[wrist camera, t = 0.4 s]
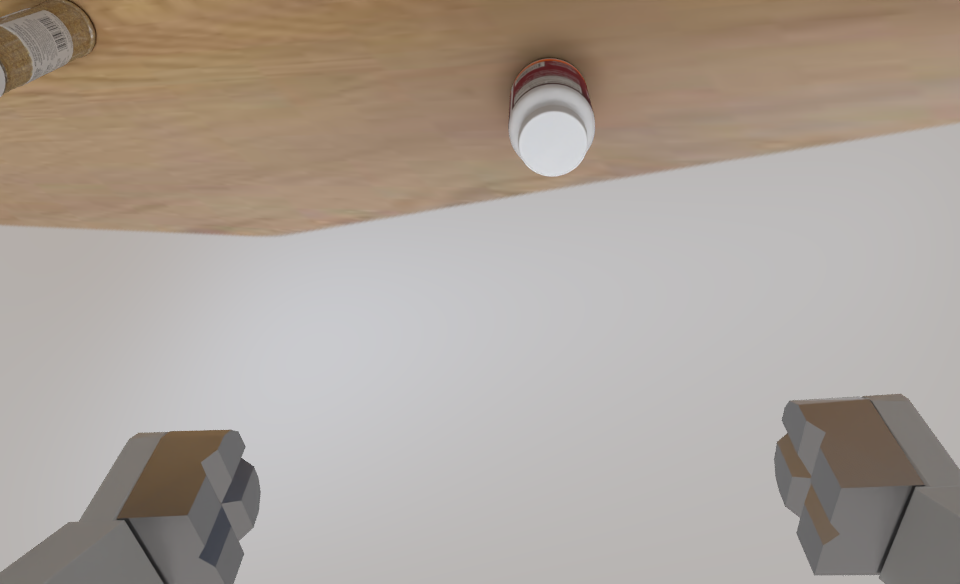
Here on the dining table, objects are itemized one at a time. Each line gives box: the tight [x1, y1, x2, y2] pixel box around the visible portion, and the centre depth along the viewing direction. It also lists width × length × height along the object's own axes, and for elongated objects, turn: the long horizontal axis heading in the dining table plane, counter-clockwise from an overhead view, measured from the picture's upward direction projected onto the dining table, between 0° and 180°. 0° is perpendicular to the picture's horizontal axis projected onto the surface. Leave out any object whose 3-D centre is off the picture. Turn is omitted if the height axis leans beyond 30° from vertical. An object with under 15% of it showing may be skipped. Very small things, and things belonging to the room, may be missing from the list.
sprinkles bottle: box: [0, 0, 95, 97], centre depth 49 cm, size 5×5×14 cm
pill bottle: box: [508, 58, 595, 176], centre depth 50 cm, size 6×6×11 cm
